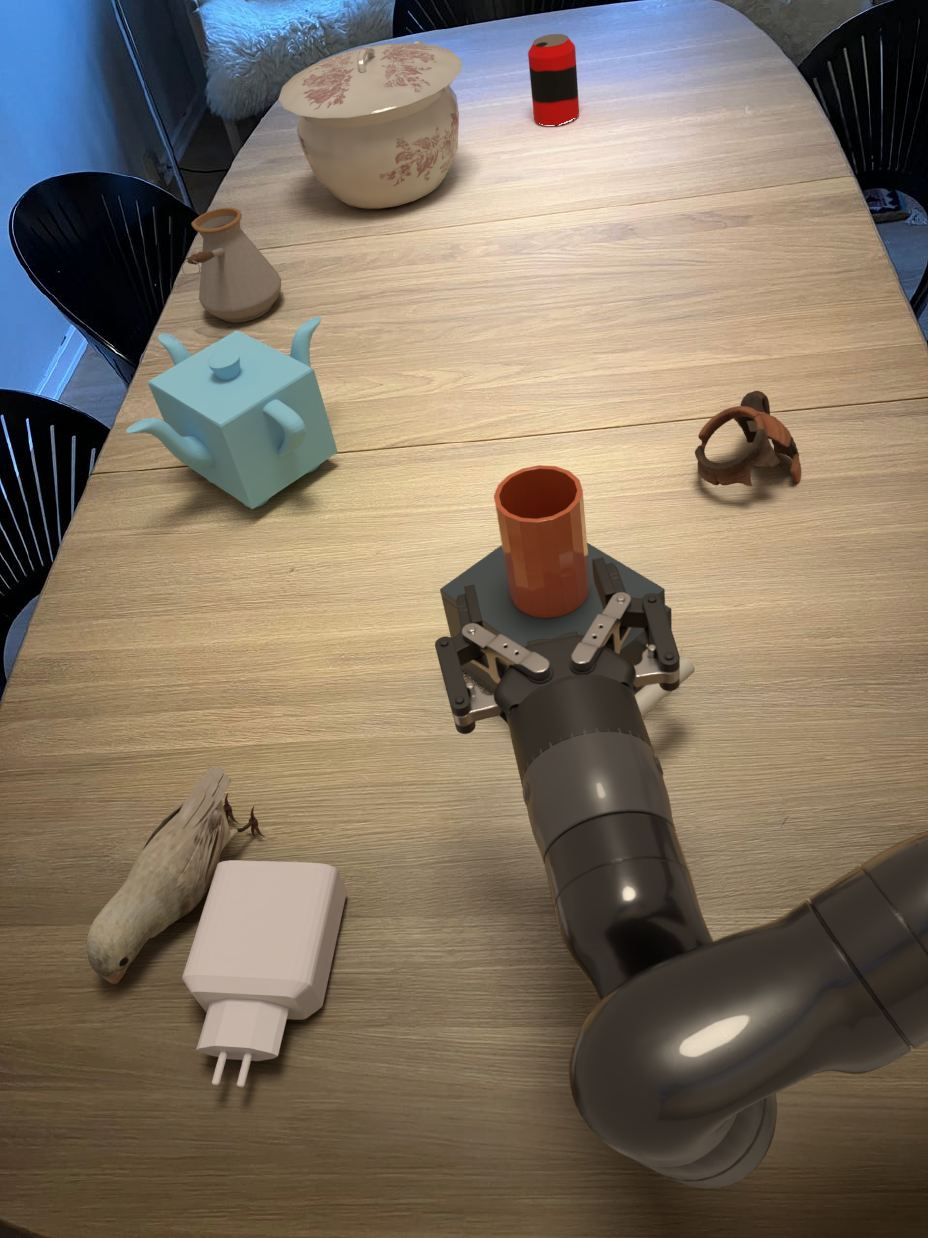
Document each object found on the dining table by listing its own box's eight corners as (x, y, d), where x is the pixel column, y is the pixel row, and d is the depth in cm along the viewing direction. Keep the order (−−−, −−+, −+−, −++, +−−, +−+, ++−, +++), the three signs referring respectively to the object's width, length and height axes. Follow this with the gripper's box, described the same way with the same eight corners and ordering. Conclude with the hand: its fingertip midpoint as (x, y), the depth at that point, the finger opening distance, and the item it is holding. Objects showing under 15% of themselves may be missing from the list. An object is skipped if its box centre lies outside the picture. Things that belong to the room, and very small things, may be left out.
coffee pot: (214, 292, 148) (178, 189, 137) (292, 281, 146) (261, 177, 136) (183, 375, 133) (140, 267, 122) (269, 365, 132) (234, 255, 121)
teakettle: (334, 514, 109) (299, 396, 98) (164, 533, 111) (111, 419, 100) (349, 410, 122) (319, 297, 111) (196, 428, 124) (153, 319, 113)
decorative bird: (86, 972, 76) (41, 923, 71) (227, 806, 85) (196, 751, 79) (137, 1006, 74) (94, 958, 68) (276, 831, 82) (248, 777, 77)
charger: (174, 1095, 69) (233, 891, 79) (305, 1104, 67) (349, 895, 77) (148, 1068, 65) (214, 859, 76) (286, 1078, 64) (334, 862, 74)
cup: (605, 578, 82) (598, 480, 75) (560, 629, 79) (549, 532, 72) (540, 552, 86) (527, 456, 79) (494, 600, 83) (477, 504, 75)
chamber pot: (339, 249, 151) (303, 102, 136) (285, 186, 170) (248, 51, 155) (510, 190, 156) (493, 42, 142) (440, 136, 175) (418, 0, 160)
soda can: (524, 122, 174) (517, 44, 165) (556, 105, 177) (550, 28, 168) (557, 130, 169) (551, 51, 161) (588, 113, 172) (584, 35, 164)
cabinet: (665, 670, 88) (665, 588, 81) (567, 753, 83) (558, 674, 76) (552, 595, 96) (542, 515, 89) (457, 667, 91) (439, 588, 84)
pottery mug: (809, 506, 100) (774, 459, 94) (719, 529, 105) (680, 486, 100) (809, 408, 105) (775, 359, 100) (723, 435, 111) (687, 390, 105)
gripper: (472, 842, 59) (437, 640, 71) (716, 792, 59) (642, 598, 70) (452, 766, 54) (418, 560, 65) (720, 710, 54) (639, 514, 65)
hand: (534, 580), depth 68 cm, fingers open, 8 cm apart
